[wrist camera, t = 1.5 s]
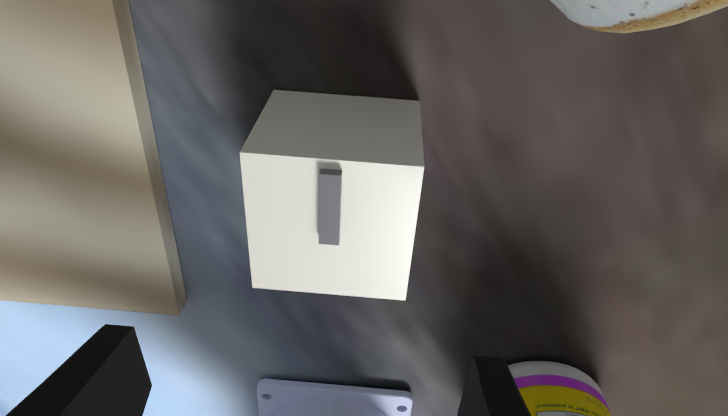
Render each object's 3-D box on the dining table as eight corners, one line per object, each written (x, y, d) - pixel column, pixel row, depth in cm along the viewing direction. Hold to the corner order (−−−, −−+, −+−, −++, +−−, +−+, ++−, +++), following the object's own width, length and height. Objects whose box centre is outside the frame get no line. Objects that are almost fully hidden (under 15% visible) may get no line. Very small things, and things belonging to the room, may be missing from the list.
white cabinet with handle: (404, 219, 20) (405, 307, 16) (279, 209, 20) (250, 294, 16) (419, 100, 17) (424, 172, 14) (273, 89, 18) (236, 157, 14)
